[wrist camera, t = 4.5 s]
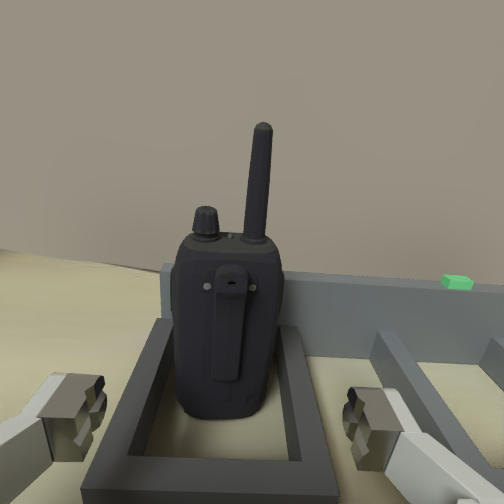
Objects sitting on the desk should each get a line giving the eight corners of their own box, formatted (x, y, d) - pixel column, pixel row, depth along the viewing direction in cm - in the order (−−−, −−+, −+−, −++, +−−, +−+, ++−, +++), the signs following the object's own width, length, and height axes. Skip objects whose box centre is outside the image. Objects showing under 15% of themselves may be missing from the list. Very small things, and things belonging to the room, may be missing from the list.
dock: (97, 528, 12) (71, 405, 9) (166, 336, 22) (164, 254, 20) (673, 541, 13) (792, 436, 10) (482, 353, 23) (518, 278, 21)
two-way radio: (264, 376, 20) (296, 125, 14) (275, 443, 16) (329, 127, 10) (176, 377, 19) (171, 113, 13) (164, 447, 15) (150, 111, 9)
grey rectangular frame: (89, 528, 12) (80, 488, 11) (158, 348, 21) (157, 318, 20) (327, 533, 12) (339, 495, 11) (292, 354, 22) (297, 326, 21)
